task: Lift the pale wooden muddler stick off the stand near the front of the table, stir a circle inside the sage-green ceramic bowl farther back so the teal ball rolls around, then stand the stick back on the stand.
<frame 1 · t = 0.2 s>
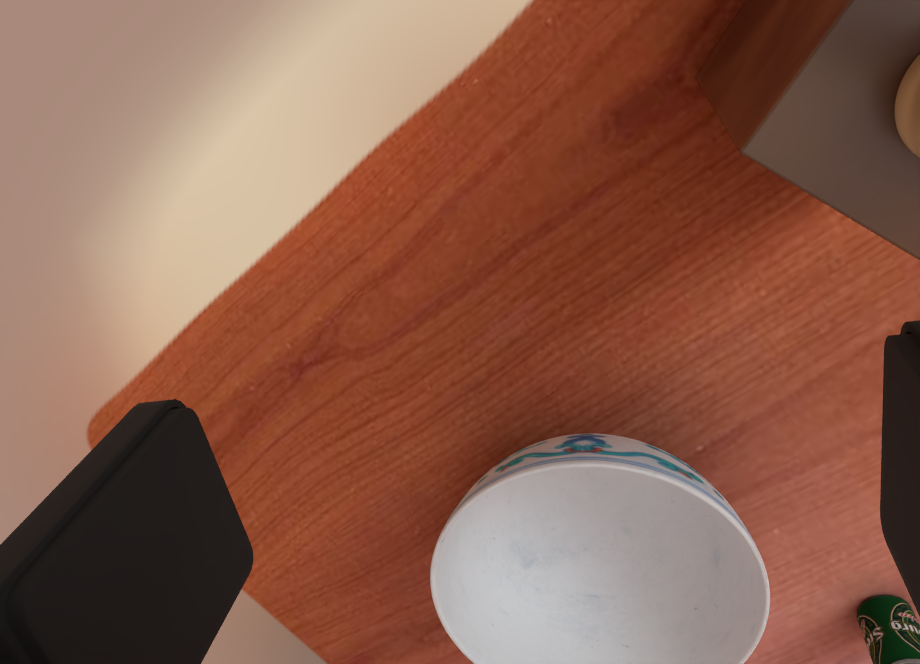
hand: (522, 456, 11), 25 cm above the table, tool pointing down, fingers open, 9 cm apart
chinaware: (595, 489, 42), on the table
stand: (843, 37, 30), on the table
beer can: (882, 609, 43), on the table
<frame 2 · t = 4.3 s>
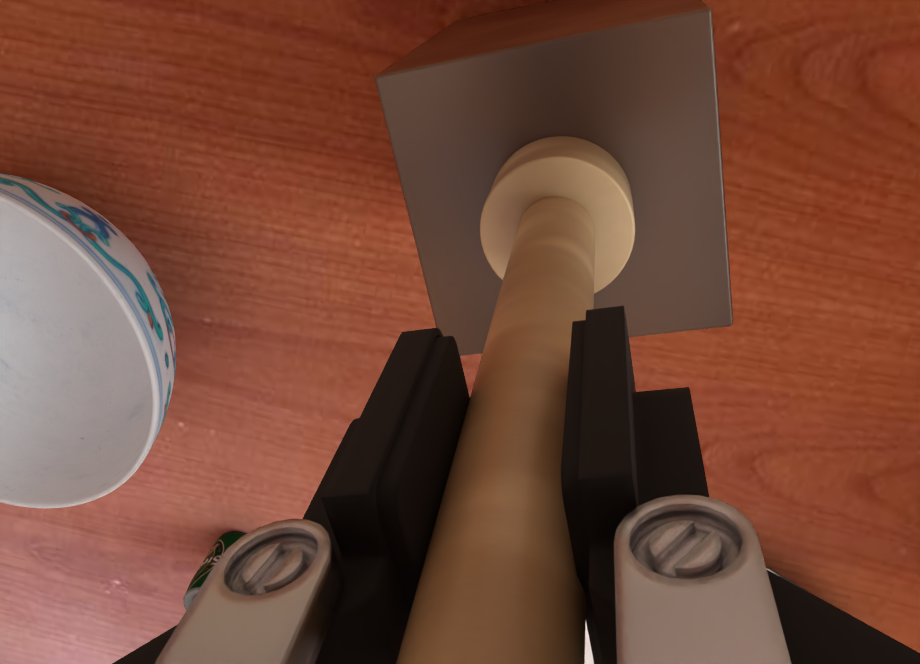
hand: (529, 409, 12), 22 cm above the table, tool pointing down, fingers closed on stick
chinaware: (91, 279, 38), on the table
stand: (575, 108, 31), on the table
stick: (560, 206, 20), point 12 cm above the table, touching gripper, stand
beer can: (242, 546, 45), on the table
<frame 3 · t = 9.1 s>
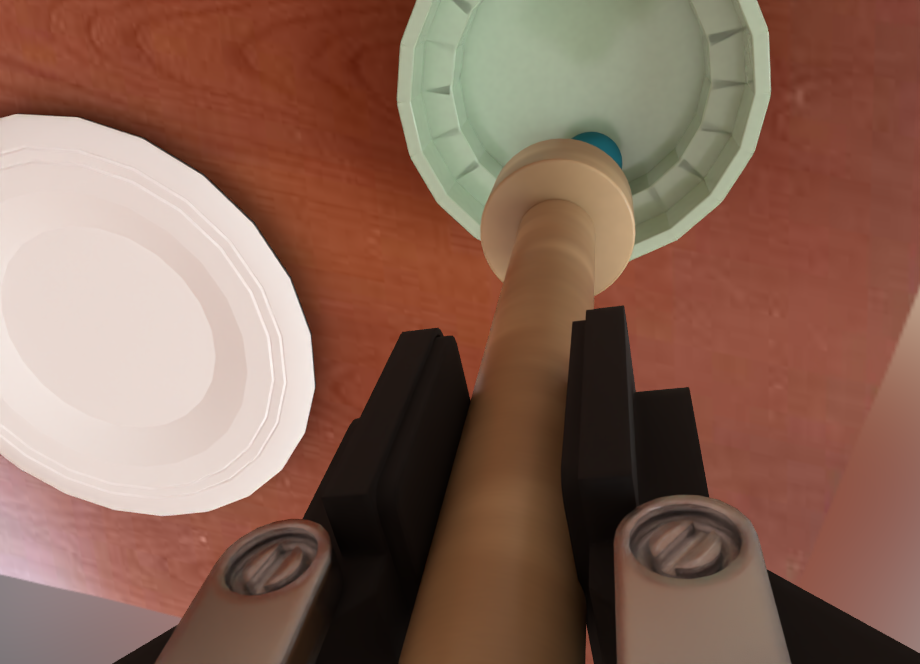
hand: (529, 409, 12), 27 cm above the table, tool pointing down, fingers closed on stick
stick: (560, 208, 20), point 17 cm above the table, touching gripper
ball: (589, 164, 35), point 2 cm above the table, touching bowl
plate: (117, 325, 45), on the table
bowl: (579, 75, 35), on the table
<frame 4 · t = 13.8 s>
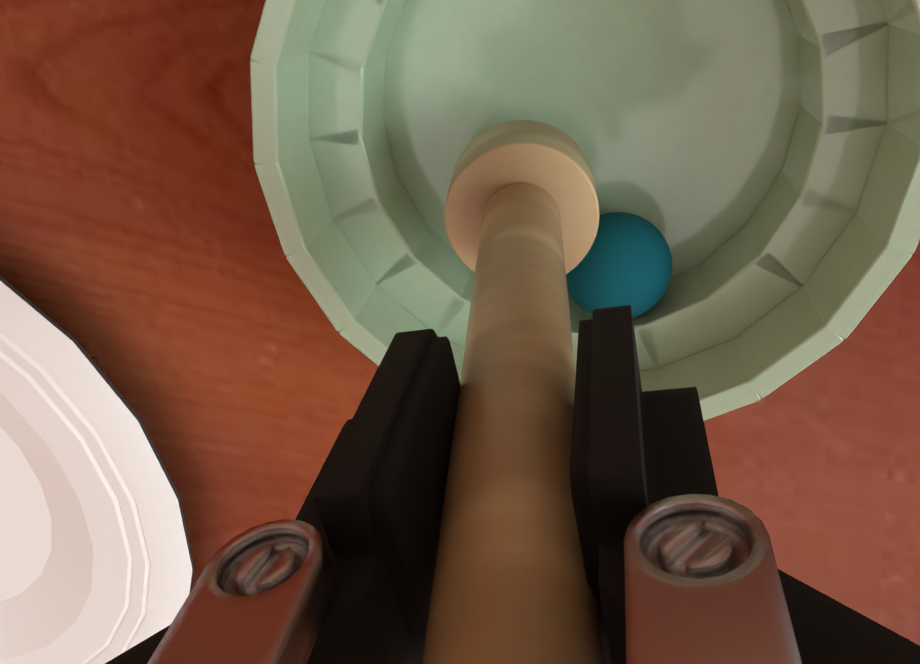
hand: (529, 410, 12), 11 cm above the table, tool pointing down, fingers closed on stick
stick: (521, 190, 20), point 2 cm above the table, tilted 5°, touching ball, gripper
ball: (616, 266, 20), point 2 cm above the table, tilted 13°, touching bowl, stick
bowl: (583, 106, 21), on the table
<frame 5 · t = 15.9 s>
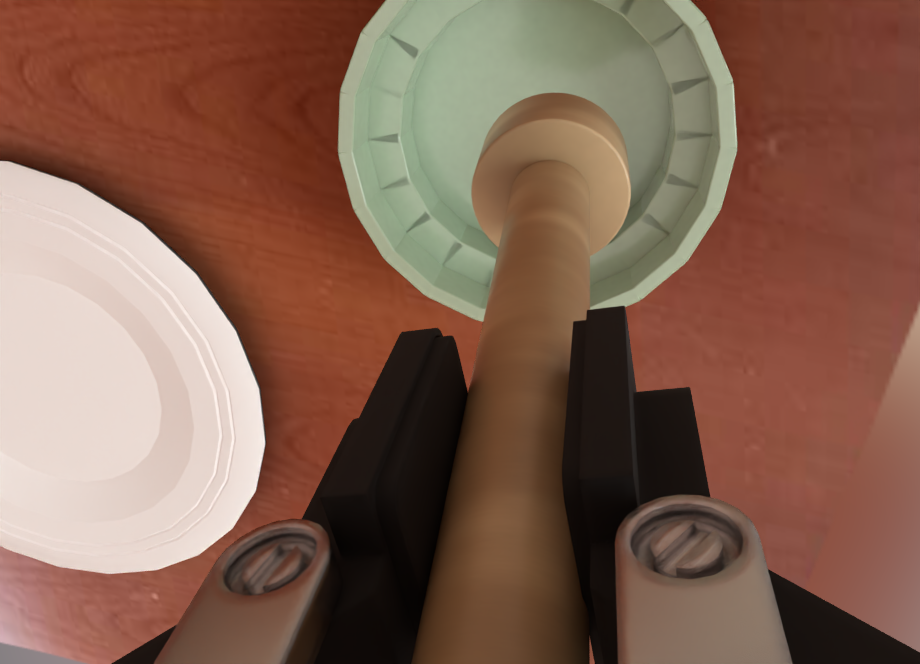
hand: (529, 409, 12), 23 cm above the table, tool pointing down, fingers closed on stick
stick: (553, 164, 19), point 14 cm above the table, tilted 7°, touching gripper
plate: (59, 375, 43), on the table
bowl: (538, 121, 33), on the table
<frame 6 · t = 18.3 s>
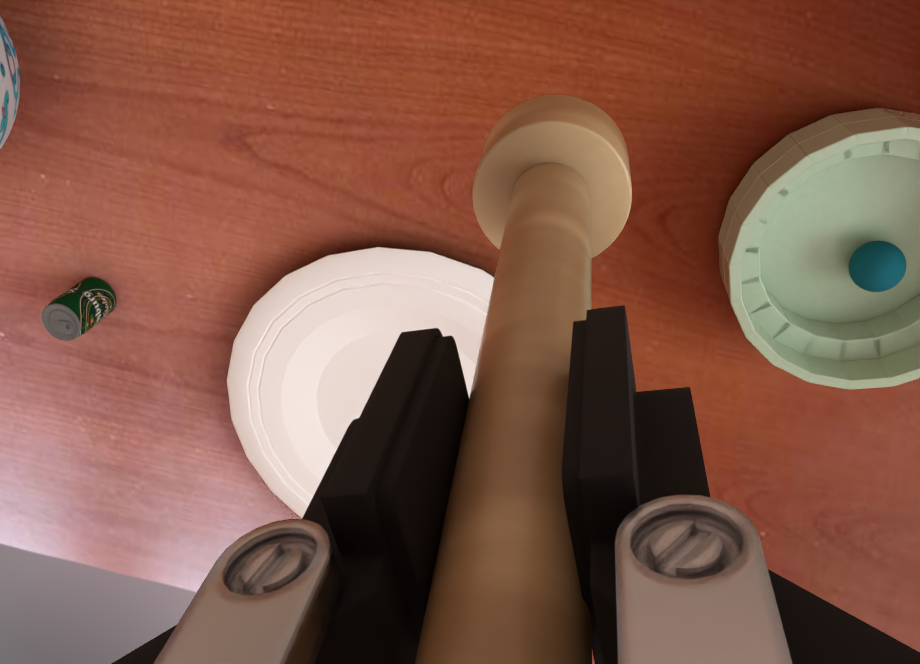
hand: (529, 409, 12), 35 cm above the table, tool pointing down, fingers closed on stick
stick: (554, 166, 19), point 26 cm above the table, tilted 6°, touching gripper
ball: (876, 266, 43), point 2 cm above the table, tilted 84°, touching bowl
plate: (409, 406, 55), on the table
bowl: (848, 235, 44), on the table
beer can: (100, 294, 55), on the table
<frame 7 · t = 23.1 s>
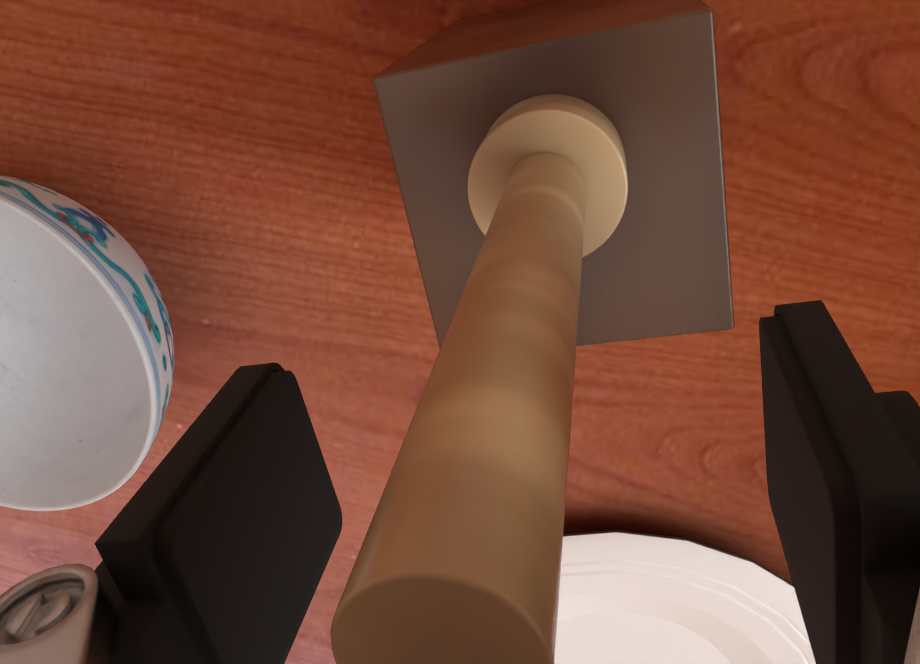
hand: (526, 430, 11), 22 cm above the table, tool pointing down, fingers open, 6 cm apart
chinaware: (88, 281, 38), on the table
stand: (574, 109, 30), on the table
stick: (551, 168, 19), point 12 cm above the table, touching stand
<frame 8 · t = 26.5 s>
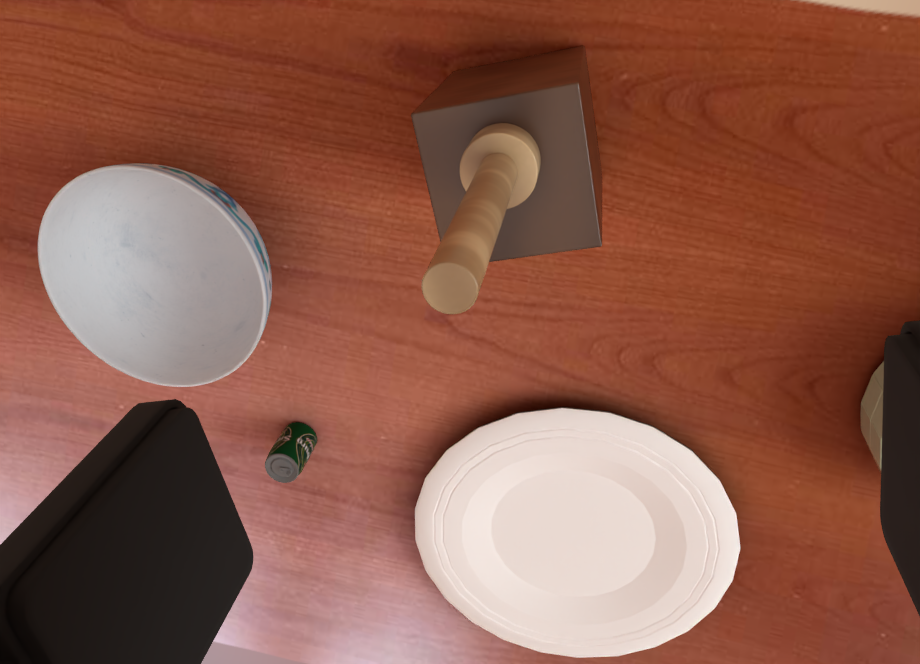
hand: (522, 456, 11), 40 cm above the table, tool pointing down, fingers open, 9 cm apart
chinaware: (206, 239, 56), on the table
stand: (528, 125, 49), on the table
stick: (503, 160, 38), point 12 cm above the table, touching stand
plate: (572, 527, 63), on the table
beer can: (301, 434, 63), on the table
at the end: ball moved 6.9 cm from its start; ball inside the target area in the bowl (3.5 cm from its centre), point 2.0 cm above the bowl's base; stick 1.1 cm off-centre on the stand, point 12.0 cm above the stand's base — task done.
